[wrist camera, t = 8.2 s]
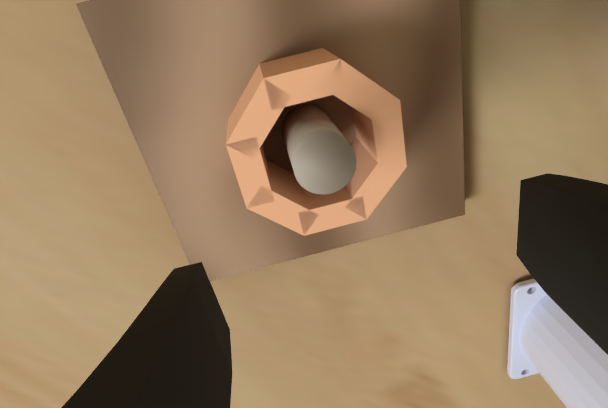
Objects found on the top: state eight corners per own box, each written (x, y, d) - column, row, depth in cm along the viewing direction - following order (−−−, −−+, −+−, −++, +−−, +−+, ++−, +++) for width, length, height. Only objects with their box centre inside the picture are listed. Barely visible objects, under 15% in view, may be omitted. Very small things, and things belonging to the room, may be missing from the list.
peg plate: (444, -84, 14) (535, -119, 10) (455, 205, 20) (515, 263, 16) (86, 3, 14) (15, 6, 10) (200, 271, 20) (188, 350, 15)
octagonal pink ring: (367, 36, 15) (394, 45, 12) (385, 176, 18) (410, 208, 15) (214, 75, 15) (208, 92, 12) (256, 209, 17) (259, 247, 15)
